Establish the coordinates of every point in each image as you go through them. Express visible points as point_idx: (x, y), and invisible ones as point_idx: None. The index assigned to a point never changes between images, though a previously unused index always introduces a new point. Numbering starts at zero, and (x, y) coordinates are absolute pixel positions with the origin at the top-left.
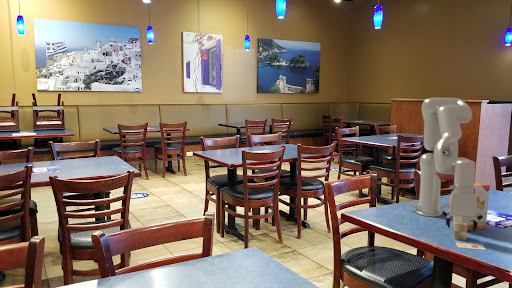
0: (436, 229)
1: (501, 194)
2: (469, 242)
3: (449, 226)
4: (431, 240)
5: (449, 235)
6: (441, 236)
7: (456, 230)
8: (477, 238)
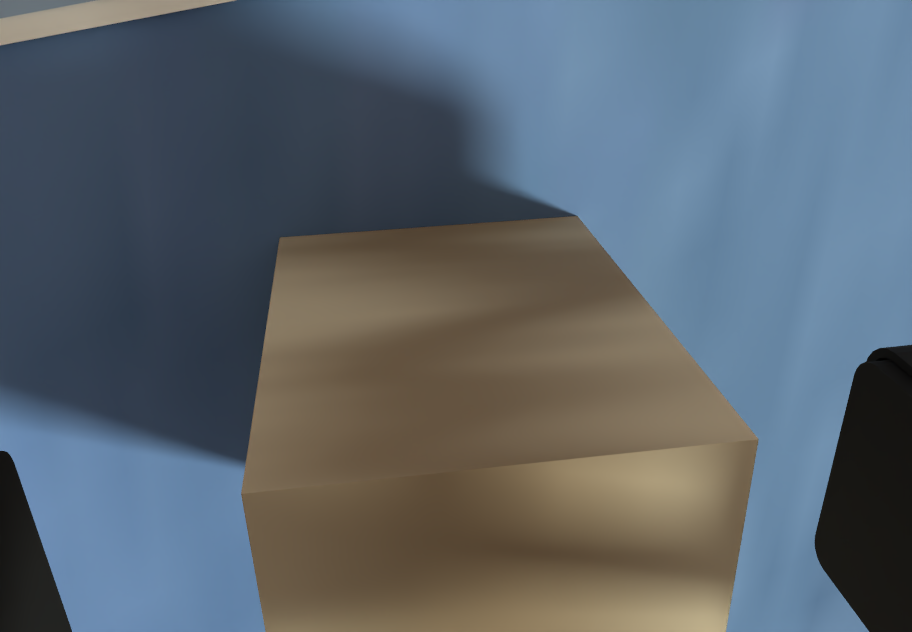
0: None
1: None
2: (172, 5)
3: (901, 377)
4: None
5: None
6: (871, 211)
7: (609, 327)
8: None
